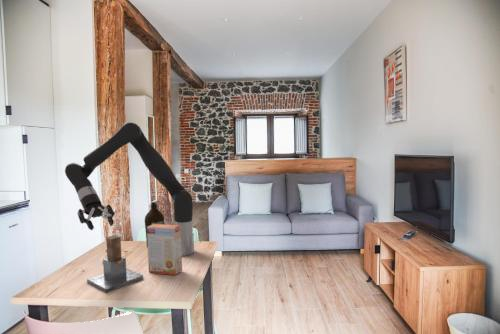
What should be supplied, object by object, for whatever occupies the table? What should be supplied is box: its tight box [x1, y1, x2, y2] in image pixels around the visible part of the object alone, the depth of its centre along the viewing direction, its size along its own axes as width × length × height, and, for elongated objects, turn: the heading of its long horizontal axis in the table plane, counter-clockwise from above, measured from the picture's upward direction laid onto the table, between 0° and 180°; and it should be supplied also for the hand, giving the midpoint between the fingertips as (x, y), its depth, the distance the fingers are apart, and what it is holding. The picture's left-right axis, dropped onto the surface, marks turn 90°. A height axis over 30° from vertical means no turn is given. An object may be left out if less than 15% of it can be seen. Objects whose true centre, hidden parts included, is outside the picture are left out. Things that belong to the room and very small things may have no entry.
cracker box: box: [147, 224, 183, 276], centre depth 138 cm, size 14×6×21 cm, turn 71°
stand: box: [86, 255, 144, 294], centre depth 130 cm, size 16×16×10 cm
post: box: [105, 234, 122, 261], centre depth 129 cm, size 4×4×17 cm
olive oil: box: [144, 201, 165, 248], centre depth 175 cm, size 11×11×25 cm
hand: (102, 226), depth 134 cm, fingers open, 8 cm apart
